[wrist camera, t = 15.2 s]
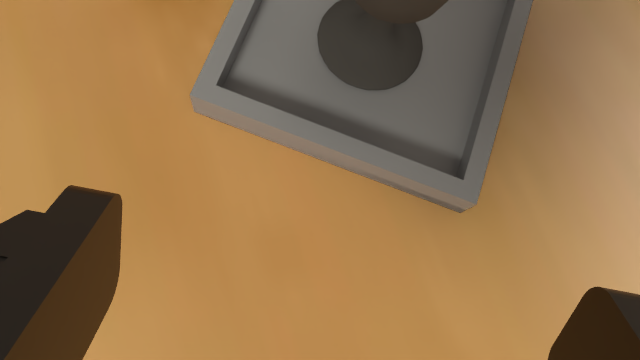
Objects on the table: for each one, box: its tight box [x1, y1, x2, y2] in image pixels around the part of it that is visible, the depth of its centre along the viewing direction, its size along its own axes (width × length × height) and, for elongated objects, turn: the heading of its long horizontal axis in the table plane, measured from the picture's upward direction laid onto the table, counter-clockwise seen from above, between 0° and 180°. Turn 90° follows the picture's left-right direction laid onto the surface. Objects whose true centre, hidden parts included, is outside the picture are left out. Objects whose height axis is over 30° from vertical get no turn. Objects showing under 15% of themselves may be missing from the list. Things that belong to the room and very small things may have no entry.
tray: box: [190, 0, 533, 213], centre depth 25 cm, size 13×13×2 cm
